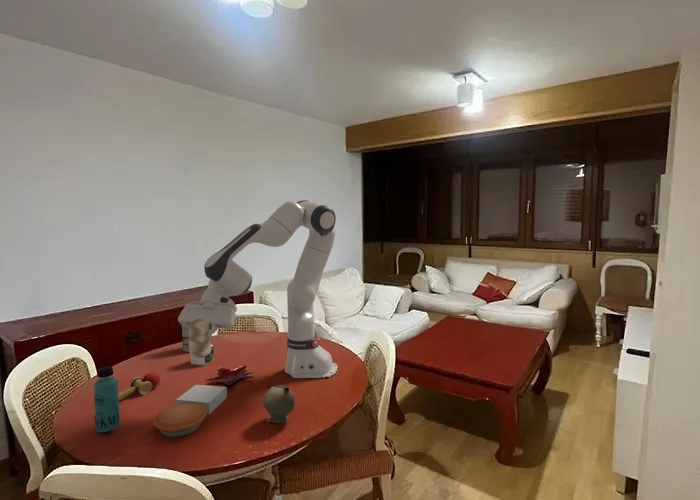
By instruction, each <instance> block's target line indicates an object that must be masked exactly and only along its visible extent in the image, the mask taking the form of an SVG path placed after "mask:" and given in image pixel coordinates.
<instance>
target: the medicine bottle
mask: <svg viewBox="0 0 700 500" xmlns="http://www.w3.org/2000/svg"><path fill="white" fill-rule="evenodd" d="M214 354H215V353H214V344H211V353H210V354H208V355H207V356H205V357H204V358H199V357H190V364H191V365H195V366H196V365H197V366H207V365H208V364H210V363H211V362H213V361H214V360H215V358H214V356H215V355H214Z"/></svg>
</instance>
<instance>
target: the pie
mask: <svg viewBox="0 0 700 500" xmlns="http://www.w3.org/2000/svg"><path fill="white" fill-rule="evenodd" d="M207 415H208V414H207V409H206V408H205V407H203V406H200V405H196V404H180V405H173V406H171V407H168V408H166V409H165V410H162V411H160V412H159V413H158V414H156V415H155V416H154V419H153V425H154V426H155V427H154V428H156V429H158V430H159V431H160V433H162V435H163V436H166V437H171V438H173V437H174V438H176V437H183V436H186V435H189V434H191V433H194V432H195V431H197V429H199V427H201V425H202V423H203V421H204V420H205V419H206V418H207Z"/></svg>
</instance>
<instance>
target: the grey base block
mask: <svg viewBox="0 0 700 500" xmlns="http://www.w3.org/2000/svg"><path fill="white" fill-rule="evenodd" d="M227 397H228V394H227V386H217V385H206V384H194V385H192V387H191V388H189V389H188V390H187V391H186V392H184V393H183V394H181V395H180V396H179V397H178V398H176V399H175V401H176V402H175V404H176V405H180V404H196V405H200V406H203V407H205V408H206V409H207V415H210V414H212V412H213V411H215V410H216V409H217V407H219V406H220V405H221V404H222V403H223V402H224V401H225V400H227ZM176 405H175V406H176Z"/></svg>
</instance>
